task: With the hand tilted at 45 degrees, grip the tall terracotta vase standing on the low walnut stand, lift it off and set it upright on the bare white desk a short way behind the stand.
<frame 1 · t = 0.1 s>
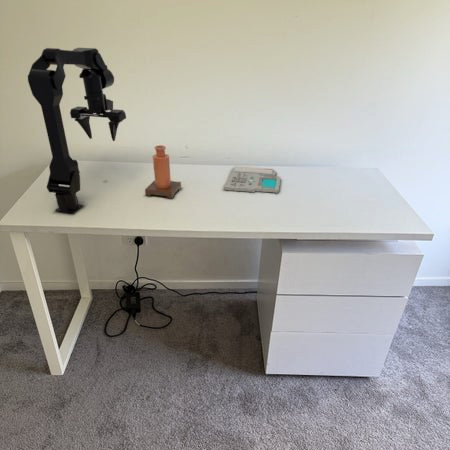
hand: (102, 139, 140), 15 cm above the table, tool pointing down, fingers open, 9 cm apart
vase: (163, 185, 138), point 2 cm above the table, touching stand
office telephone: (254, 181, 150), on the table
stand: (163, 192, 140), on the table
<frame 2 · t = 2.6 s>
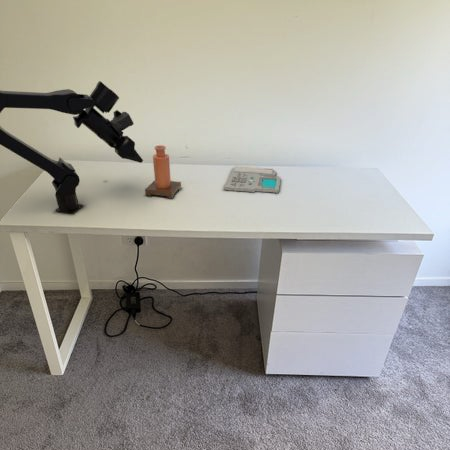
hand: (137, 157, 129), 13 cm above the table, tool tilted 45°, fingers open, 9 cm apart
nothing on the table moved.
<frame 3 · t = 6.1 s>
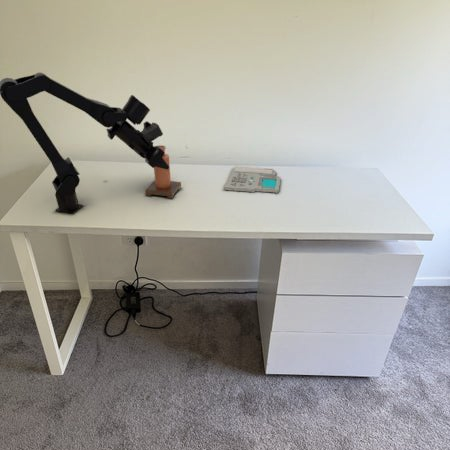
hand: (165, 165, 135), 9 cm above the table, tool tilted 45°, fingers closed on vase, 5 cm apart
vase: (163, 185, 139), point 3 cm above the table, touching gripper, stand
everything else where it was.
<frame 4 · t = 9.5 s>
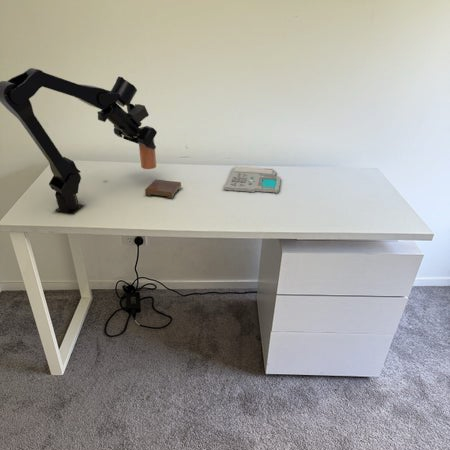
hand: (150, 146, 139), 13 cm above the table, tool tilted 45°, fingers closed on vase, 5 cm apart
vase: (148, 166, 143), point 6 cm above the table, touching gripper
everything else where it was.
when the fingers open (7 cm above the table, at t = 12.8 s): vase stays where it is, on the table.
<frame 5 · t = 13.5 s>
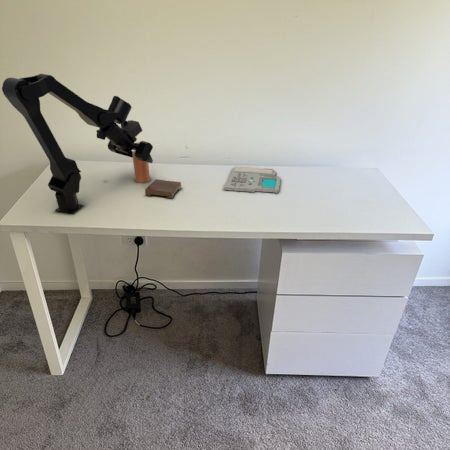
hand: (143, 159, 145), 8 cm above the table, tool tilted 45°, fingers open, 9 cm apart
vase: (142, 180, 149), on the table
everything else where it was.
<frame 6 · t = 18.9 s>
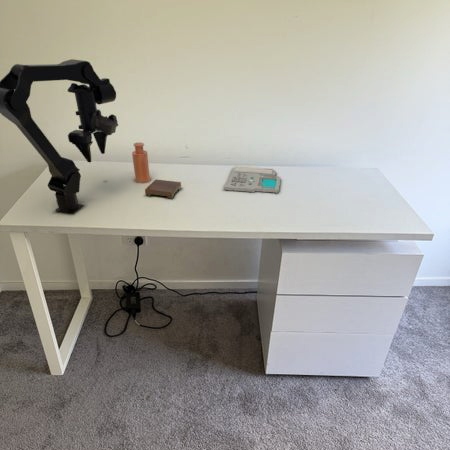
hand: (96, 157, 129), 13 cm above the table, tool pointing down, fingers open, 9 cm apart
nothing on the table moved.
at the end: vase inside the target area (0.0 cm from its centre), on the table; vase touching table; vase tilted 0° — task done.
